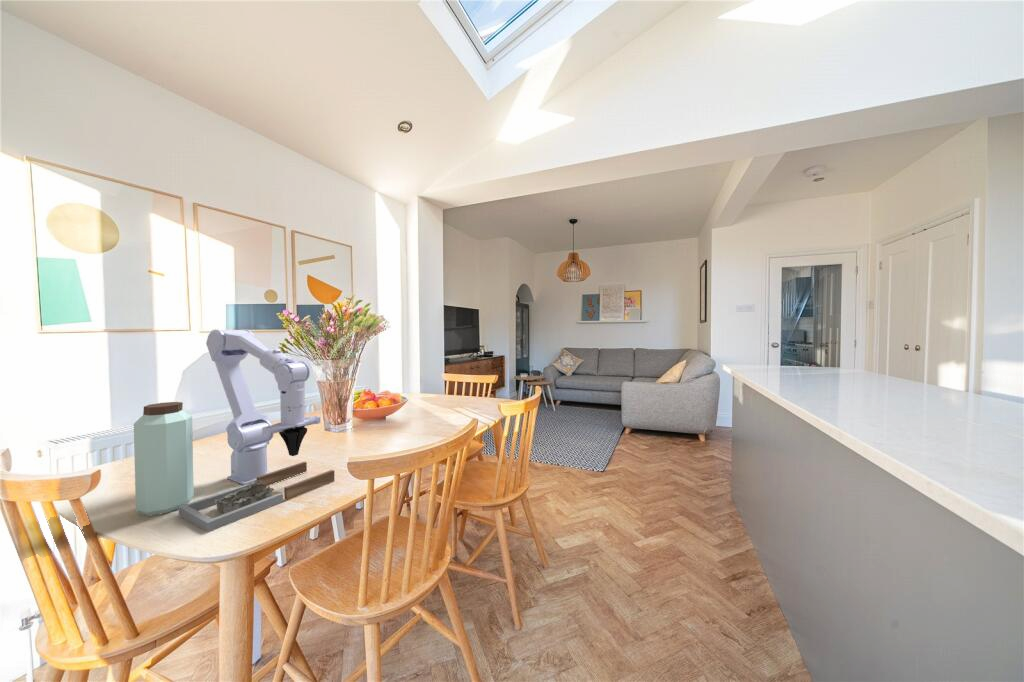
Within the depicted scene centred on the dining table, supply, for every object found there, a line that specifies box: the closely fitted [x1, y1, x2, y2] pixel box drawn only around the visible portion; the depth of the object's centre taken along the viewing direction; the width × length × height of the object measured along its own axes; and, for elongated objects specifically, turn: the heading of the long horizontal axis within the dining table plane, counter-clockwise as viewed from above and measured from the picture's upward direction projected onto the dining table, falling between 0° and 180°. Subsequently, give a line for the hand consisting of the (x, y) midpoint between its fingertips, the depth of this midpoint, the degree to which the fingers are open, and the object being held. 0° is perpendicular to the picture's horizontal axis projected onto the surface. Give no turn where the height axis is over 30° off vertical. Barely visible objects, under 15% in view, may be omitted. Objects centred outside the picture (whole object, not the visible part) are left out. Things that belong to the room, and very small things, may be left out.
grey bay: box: [178, 482, 284, 533], centre depth 84 cm, size 14×15×2 cm
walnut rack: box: [257, 461, 335, 501], centre depth 98 cm, size 14×13×3 cm
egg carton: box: [214, 480, 275, 514], centre depth 86 cm, size 11×8×4 cm
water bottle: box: [133, 401, 195, 517], centre depth 85 cm, size 10×10×25 cm
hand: (293, 454), depth 97 cm, fingers closed
